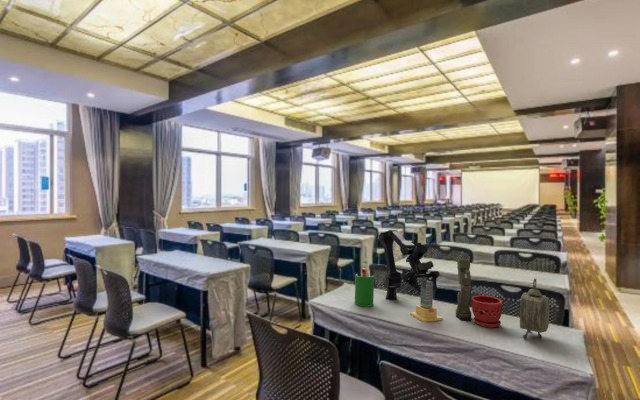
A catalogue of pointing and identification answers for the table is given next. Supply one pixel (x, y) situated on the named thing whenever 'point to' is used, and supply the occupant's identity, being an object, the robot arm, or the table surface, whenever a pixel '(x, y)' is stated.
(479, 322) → the plant pot
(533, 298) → the tabletop clock
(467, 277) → the mechanical leg
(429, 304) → the column
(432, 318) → the stand base
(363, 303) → the green pencil holder
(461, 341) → the table surface
